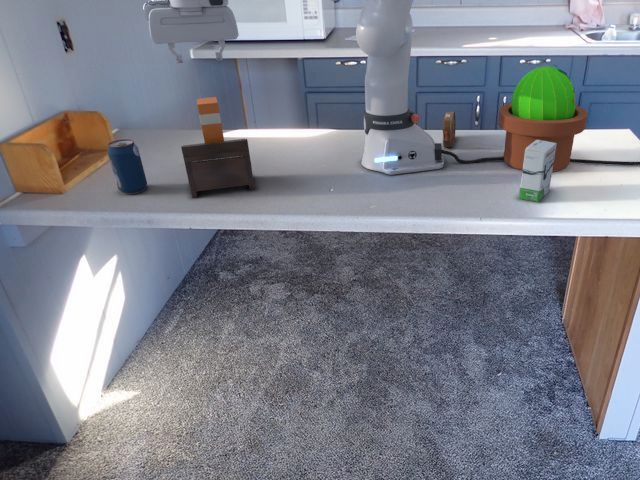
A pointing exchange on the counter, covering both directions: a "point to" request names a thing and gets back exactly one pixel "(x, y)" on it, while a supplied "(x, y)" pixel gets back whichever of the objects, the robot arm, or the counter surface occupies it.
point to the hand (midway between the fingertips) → (200, 61)
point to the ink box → (537, 170)
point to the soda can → (127, 166)
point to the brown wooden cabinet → (218, 165)
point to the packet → (210, 119)
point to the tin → (449, 129)
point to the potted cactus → (542, 116)
